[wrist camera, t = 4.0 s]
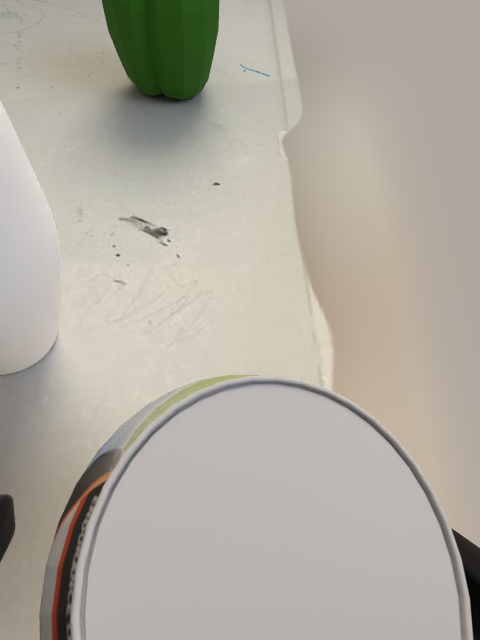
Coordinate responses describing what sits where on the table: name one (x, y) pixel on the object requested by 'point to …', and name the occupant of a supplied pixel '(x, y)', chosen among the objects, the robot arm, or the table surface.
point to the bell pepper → (164, 43)
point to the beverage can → (254, 526)
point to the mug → (25, 259)
